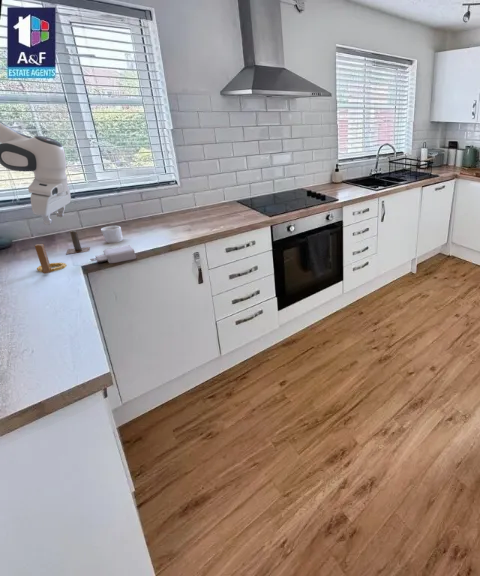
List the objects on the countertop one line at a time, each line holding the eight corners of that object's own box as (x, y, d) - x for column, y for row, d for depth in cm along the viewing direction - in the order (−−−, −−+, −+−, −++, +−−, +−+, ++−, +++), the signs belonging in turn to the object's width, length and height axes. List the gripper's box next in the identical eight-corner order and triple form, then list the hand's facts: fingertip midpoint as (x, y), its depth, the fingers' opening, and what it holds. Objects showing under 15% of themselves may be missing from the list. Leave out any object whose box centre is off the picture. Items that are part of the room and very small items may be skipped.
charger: (90, 262, 154) (131, 254, 163) (94, 269, 148) (137, 260, 157) (86, 251, 152) (128, 244, 161) (90, 257, 146) (134, 249, 155)
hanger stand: (66, 256, 159) (60, 233, 156) (68, 251, 166) (62, 229, 162) (89, 253, 164) (83, 231, 160) (90, 249, 170) (84, 228, 166)
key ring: (60, 272, 142) (52, 244, 138) (32, 274, 139) (23, 246, 135) (69, 264, 150) (61, 238, 146) (43, 266, 147) (34, 239, 143)
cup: (100, 243, 180) (95, 227, 176) (118, 239, 186) (113, 223, 182) (110, 247, 174) (104, 231, 171) (128, 243, 180) (123, 227, 177)
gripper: (55, 176, 142) (57, 210, 147) (25, 188, 125) (29, 227, 130) (75, 180, 144) (76, 214, 150) (48, 192, 127) (51, 230, 132)
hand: (54, 220), depth 140 cm, fingers open, 8 cm apart
